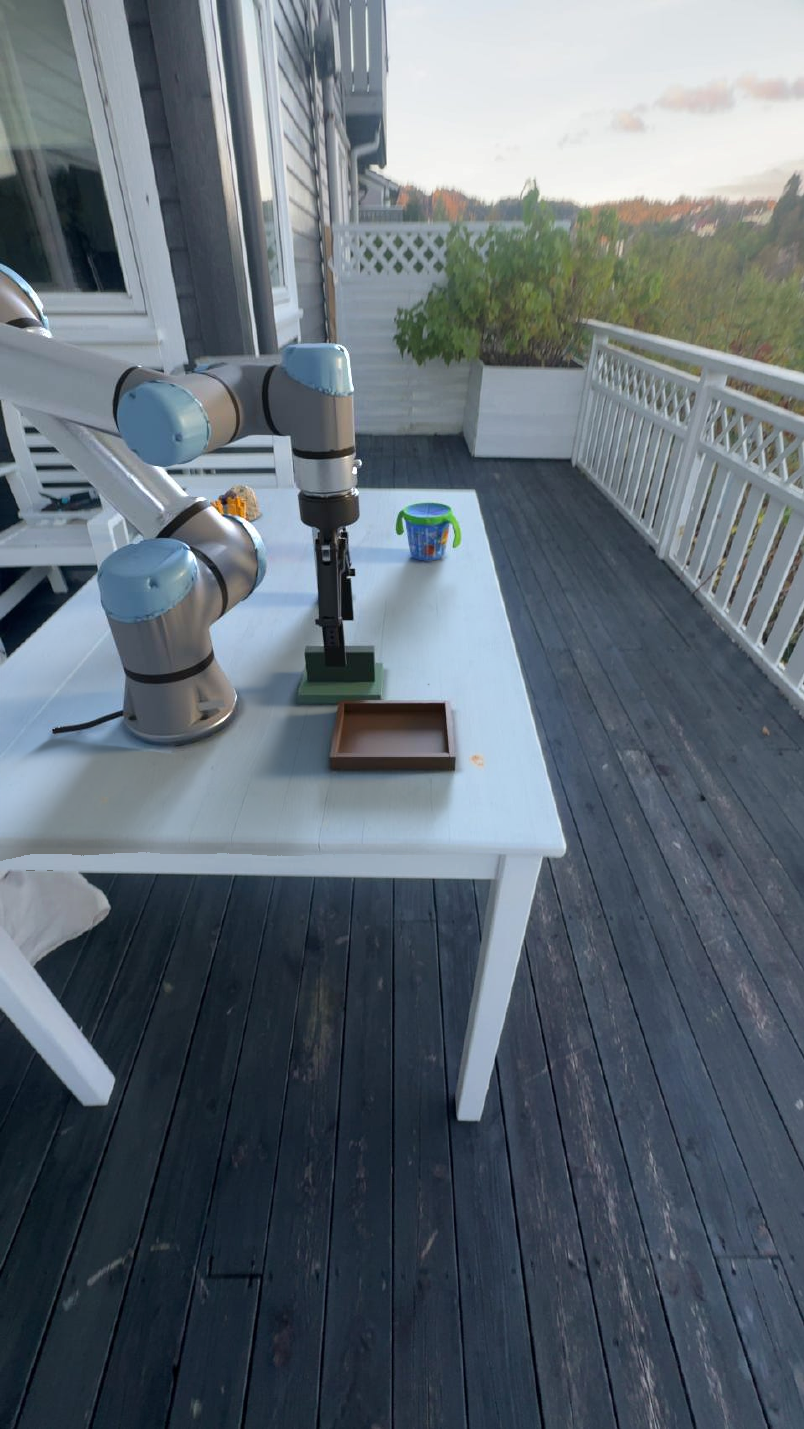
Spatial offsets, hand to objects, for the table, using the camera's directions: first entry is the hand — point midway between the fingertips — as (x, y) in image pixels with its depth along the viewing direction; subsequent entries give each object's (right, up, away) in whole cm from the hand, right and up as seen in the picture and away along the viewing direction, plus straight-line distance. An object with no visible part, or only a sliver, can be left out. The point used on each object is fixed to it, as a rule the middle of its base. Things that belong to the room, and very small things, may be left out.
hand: (340, 641), depth 89 cm
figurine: (-29, +29, +56) cm, 69 cm away
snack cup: (+14, +24, +48) cm, 55 cm away
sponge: (-32, +40, +71) cm, 88 cm away
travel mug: (-4, +11, +30) cm, 32 cm away
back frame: (+8, -14, -6) cm, 17 cm away
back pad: (0, -6, +5) cm, 8 cm away
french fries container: (-26, +20, +43) cm, 54 cm away
